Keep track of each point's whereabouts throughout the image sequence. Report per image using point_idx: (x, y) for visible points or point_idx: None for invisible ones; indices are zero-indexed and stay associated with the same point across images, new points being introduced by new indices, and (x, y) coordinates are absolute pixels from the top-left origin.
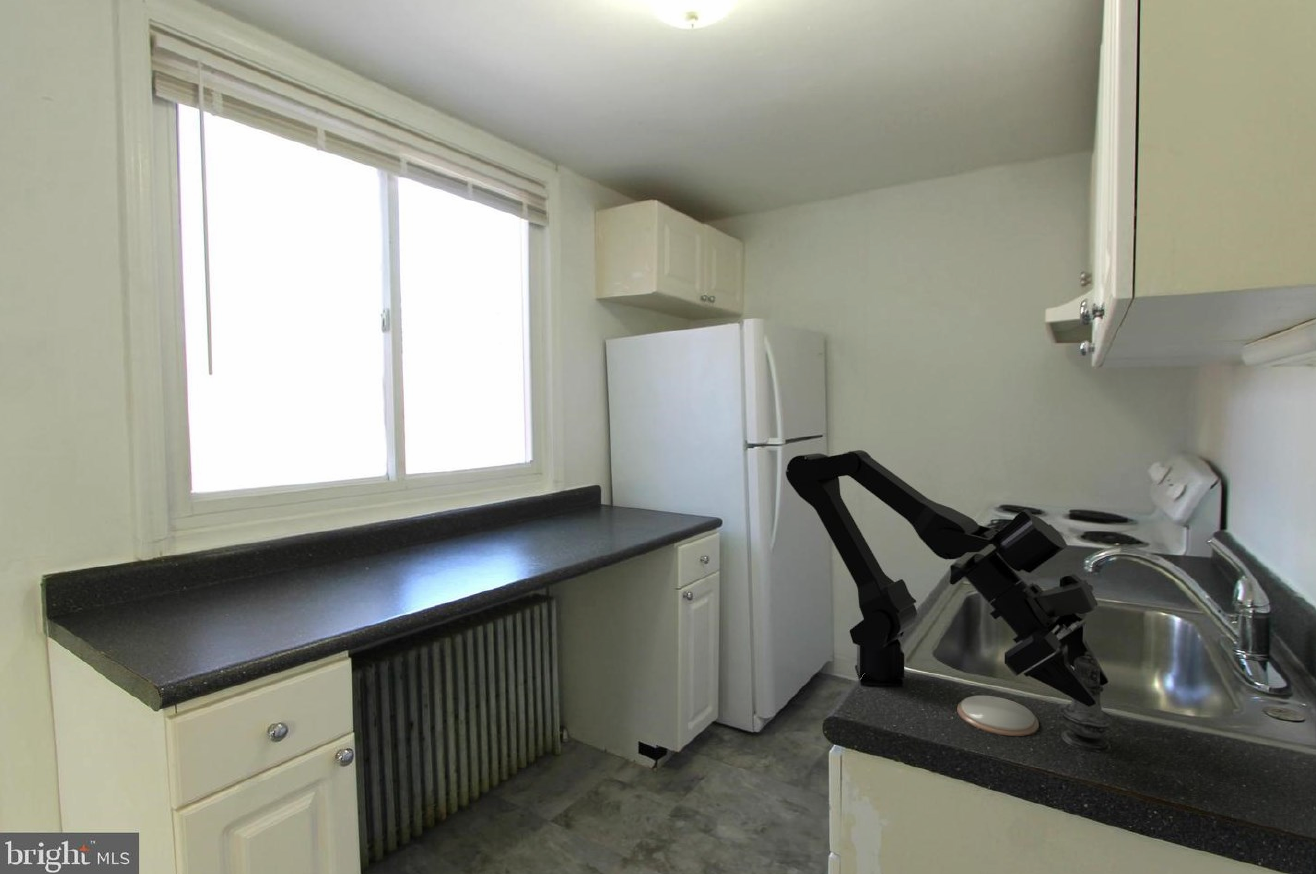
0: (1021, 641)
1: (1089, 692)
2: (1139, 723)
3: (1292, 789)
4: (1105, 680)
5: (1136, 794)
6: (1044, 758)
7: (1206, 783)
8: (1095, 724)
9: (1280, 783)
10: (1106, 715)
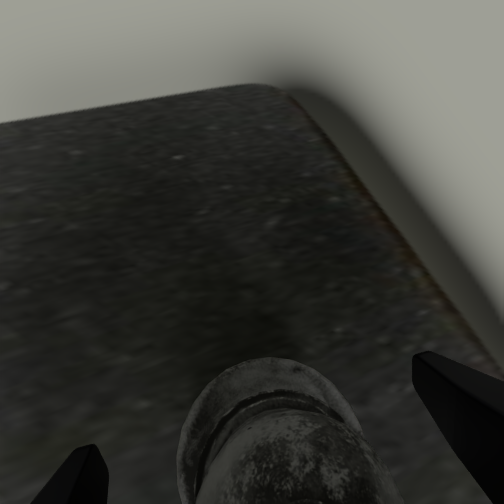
0: None
1: (461, 378)
2: (3, 398)
3: (123, 114)
4: (93, 457)
5: (410, 249)
6: None
7: (231, 192)
8: (331, 386)
9: (114, 128)
10: (236, 390)
